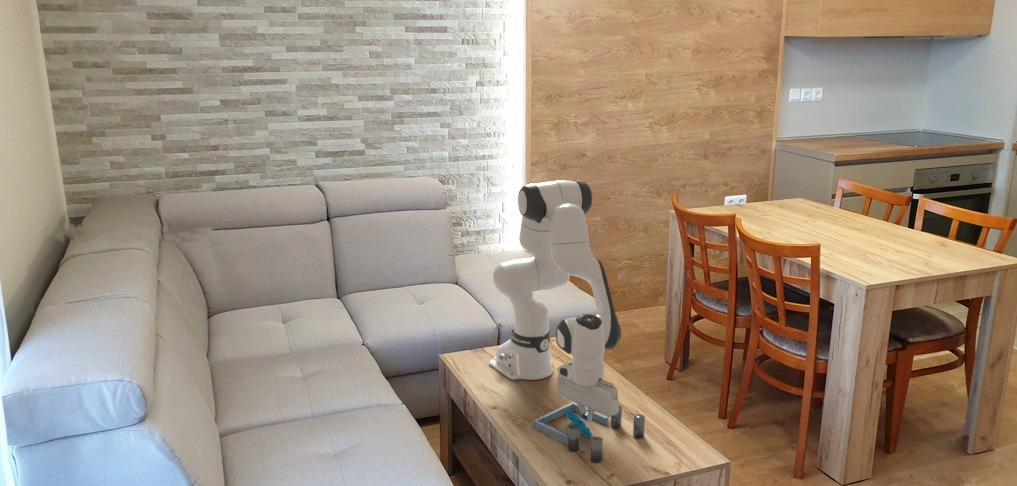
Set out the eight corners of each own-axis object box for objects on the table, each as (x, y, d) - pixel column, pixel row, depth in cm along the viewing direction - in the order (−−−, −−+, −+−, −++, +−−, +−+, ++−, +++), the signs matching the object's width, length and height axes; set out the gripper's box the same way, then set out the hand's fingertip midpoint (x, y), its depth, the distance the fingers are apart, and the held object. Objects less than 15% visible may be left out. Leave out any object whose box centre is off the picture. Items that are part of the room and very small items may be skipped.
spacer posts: (565, 448, 210) (565, 428, 208) (615, 422, 224) (615, 403, 222) (596, 464, 202) (597, 443, 201) (646, 436, 216) (647, 416, 215)
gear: (595, 440, 211) (569, 414, 210) (579, 454, 212) (554, 429, 211) (592, 425, 222) (567, 401, 221) (577, 439, 223) (552, 415, 222)
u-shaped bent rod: (532, 427, 221) (532, 420, 221) (572, 407, 233) (573, 401, 232) (567, 444, 212) (568, 437, 211) (608, 423, 223) (608, 417, 223)
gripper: (624, 382, 208) (623, 428, 212) (568, 359, 223) (567, 403, 226) (609, 389, 204) (608, 436, 208) (553, 366, 219) (552, 410, 222)
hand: (586, 419), depth 217 cm, fingers closed
